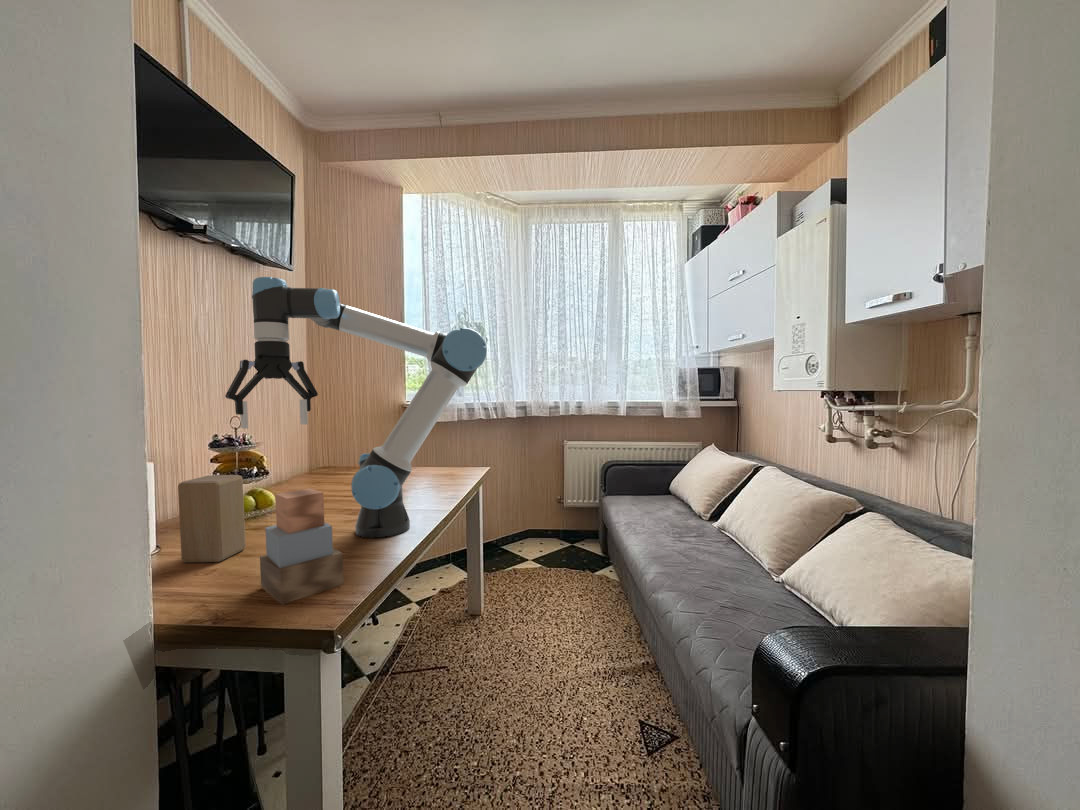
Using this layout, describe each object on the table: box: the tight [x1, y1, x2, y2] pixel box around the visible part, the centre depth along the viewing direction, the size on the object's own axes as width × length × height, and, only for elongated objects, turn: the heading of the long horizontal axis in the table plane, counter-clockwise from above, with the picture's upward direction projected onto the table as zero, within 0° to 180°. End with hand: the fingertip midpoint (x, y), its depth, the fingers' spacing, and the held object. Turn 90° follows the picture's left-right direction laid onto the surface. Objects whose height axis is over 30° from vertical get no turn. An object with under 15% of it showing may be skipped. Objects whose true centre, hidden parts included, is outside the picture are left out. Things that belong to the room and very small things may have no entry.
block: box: [177, 474, 246, 563], centre depth 115 cm, size 10×10×20 cm
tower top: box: [264, 521, 334, 568], centre depth 95 cm, size 10×10×6 cm
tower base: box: [259, 547, 344, 606], centre depth 95 cm, size 12×12×7 cm
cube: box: [274, 487, 325, 533], centre depth 95 cm, size 7×7×7 cm
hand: (275, 426), depth 114 cm, fingers open, 13 cm apart
